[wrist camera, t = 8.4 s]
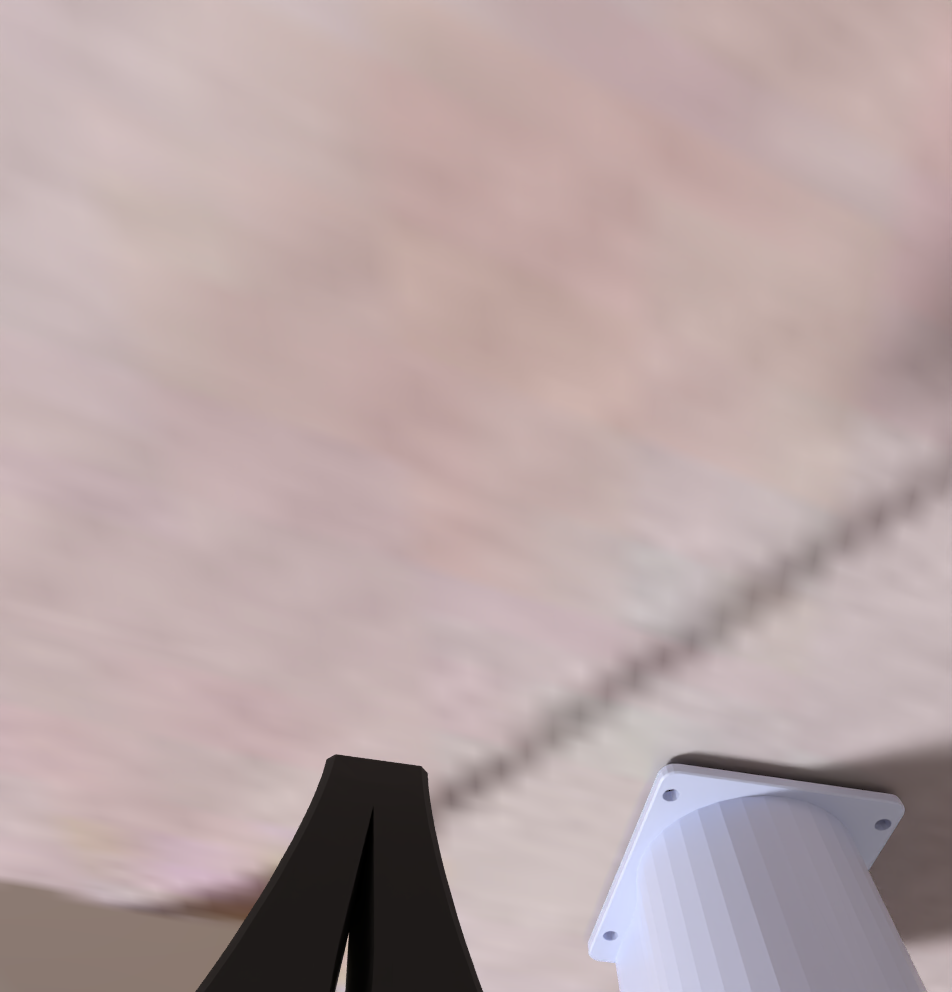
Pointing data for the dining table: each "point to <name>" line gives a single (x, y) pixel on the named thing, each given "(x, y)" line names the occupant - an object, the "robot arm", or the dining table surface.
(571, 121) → the dining table surface
